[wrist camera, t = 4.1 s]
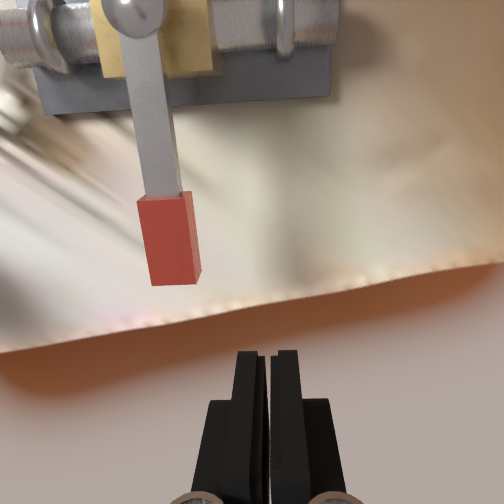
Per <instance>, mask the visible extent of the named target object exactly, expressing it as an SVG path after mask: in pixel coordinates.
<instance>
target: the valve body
mask: <svg viewBox="0 0 504 504" xmlns="http://www.w3.org/2000/svg"><path fill="white" fill-rule="evenodd" d="M168 2H169V18H168V22H167V24H166V26H165V28H164V30H163V31H162V40H163V47H164V55H165V62H166V70H167V77H168V85H169V92H170V100H171V107H172V106H186V105H201V104H215V103H230V102H244V101H258V100H273V99H287V98H302V97H316V96H330V44H335V41H336V37H337V31H338V21H339V0H168ZM16 3H17V7H18V9H8V10H0V51H1V53H2V55H3V56H4V57H5V59H6V60H7V61H8V62H9V63H10V64H11V65H12V66H14V67H16V68H19V69H21V68H33V71H34V75H35V79H36V83H37V87H38V91H39V95H40V99H41V103H42V107H43V111H44V115H57V114H71V113H86V112H100V111H115V110H129V109H131V105H130V99H129V93H128V87H127V81H126V75H125V69H124V64H123V58H122V52H121V46H120V40H119V34H118V31H117V30H116V29H114V28H113V27H112V26H111V24H110V23H109V22H108V20H107V18H106V17H105V15H104V12H103V9H102V5H101V0H16Z"/></svg>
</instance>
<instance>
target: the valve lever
mask: <svg viewBox="0 0 504 504" xmlns="http://www.w3.org/2000/svg"><path fill="white" fill-rule="evenodd" d="M101 5H102V9H103V12H104V15H105V17H106V18H107V20H108V22H109V23H110V24H111V26H112V27H113V28H114V29H116V30H117V31H118V34H119V40H120V46H121V52H122V58H123V64H124V69H125V75H126V81H127V87H128V93H129V99H130V105H131V111H132V117H133V122H134V128H135V134H136V140H137V146H138V152H139V158H140V164H141V169H142V175H143V181H144V187H145V193H146V194H145V195H144V196H143V197H141V198H140V199H139V200H138V201H137V207H138V212H139V218H140V223H141V229H142V234H143V240H144V245H145V251H146V257H147V262H148V268H149V273H150V279H151V284H152V286H163V285H189V284H197V281H198V279H199V276H200V274H201V263H200V255H199V247H198V238H197V230H196V222H195V214H194V206H193V198H192V191H183V190H182V182H181V175H180V167H179V160H178V152H177V145H176V137H175V130H174V122H173V115H172V107H171V100H170V92H169V85H168V77H167V70H166V62H165V55H164V47H163V40H162V31H163V30H164V28H165V26H166V24H167V22H168V18H169V2H168V0H101Z"/></svg>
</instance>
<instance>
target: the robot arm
mask: <svg viewBox="0 0 504 504" xmlns="http://www.w3.org/2000/svg"><path fill="white" fill-rule="evenodd" d="M270 394H271V396H270V398H271V401H270V431H269V414H268V398H267V382H266V366H265V356H258V353H257V351H239V352H238V355H237V362H236V369H235V376H234V384H233V391H232V398H231V400H211V401H210V403H209V407H208V412H207V416H206V421H205V426H204V431H203V435H202V440H201V445H200V450H199V455H198V459H197V465H196V469H195V474H194V478H193V484H192V488H191V492H190V493H187V494H184V495H182V496H180V497H178V498H177V499H175V500H173V502H171V503H170V504H269V478H270V483H271V501H272V504H363V503H362V502H361V501H360V500H358V499H357V498H355V497H353V496H352V495H350V494H347V493H346V487H345V482H344V477H343V472H342V467H341V461H340V456H339V451H338V445H337V440H336V435H335V430H334V424H333V419H332V414H331V409H330V404H329V400H328V399H327V398H323V399H322V398H321V399H302V394H301V383H300V373H299V364H298V354H297V350H279V351H278V356H271V393H270ZM269 470H270V471H269Z"/></svg>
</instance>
